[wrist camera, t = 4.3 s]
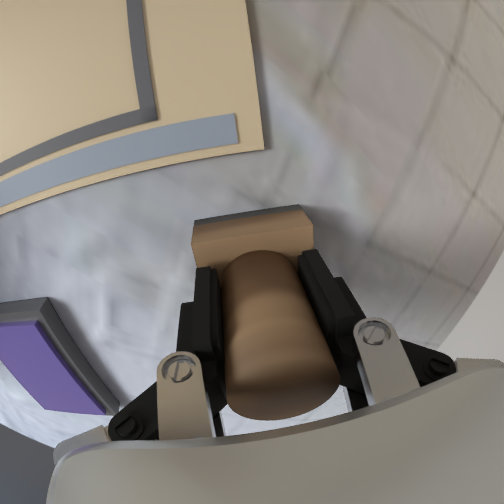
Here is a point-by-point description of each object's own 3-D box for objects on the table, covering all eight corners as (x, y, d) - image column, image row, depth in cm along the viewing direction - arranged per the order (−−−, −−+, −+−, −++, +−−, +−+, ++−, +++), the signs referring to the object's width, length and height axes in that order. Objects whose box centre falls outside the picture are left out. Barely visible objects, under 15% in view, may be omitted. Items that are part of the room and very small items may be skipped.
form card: (-63, 30, 4) (-68, 30, 3) (225, -108, 4) (226, -113, 4) (-37, 229, 11) (-41, 233, 10) (263, 147, 11) (264, 149, 11)
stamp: (194, 220, 13) (178, 356, 6) (298, 204, 13) (376, 319, 6) (214, 301, 15) (219, 436, 8) (301, 287, 15) (351, 411, 9)
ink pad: (-23, 305, 13) (-33, 319, 12) (47, 297, 14) (36, 314, 12) (48, 398, 19) (44, 412, 17) (119, 403, 19) (117, 419, 18)
